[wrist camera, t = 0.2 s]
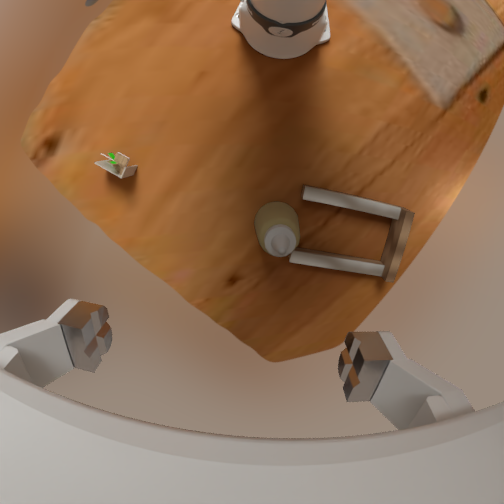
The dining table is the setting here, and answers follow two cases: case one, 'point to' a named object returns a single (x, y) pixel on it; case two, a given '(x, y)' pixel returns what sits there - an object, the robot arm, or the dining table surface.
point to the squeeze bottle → (277, 228)
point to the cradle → (382, 268)
